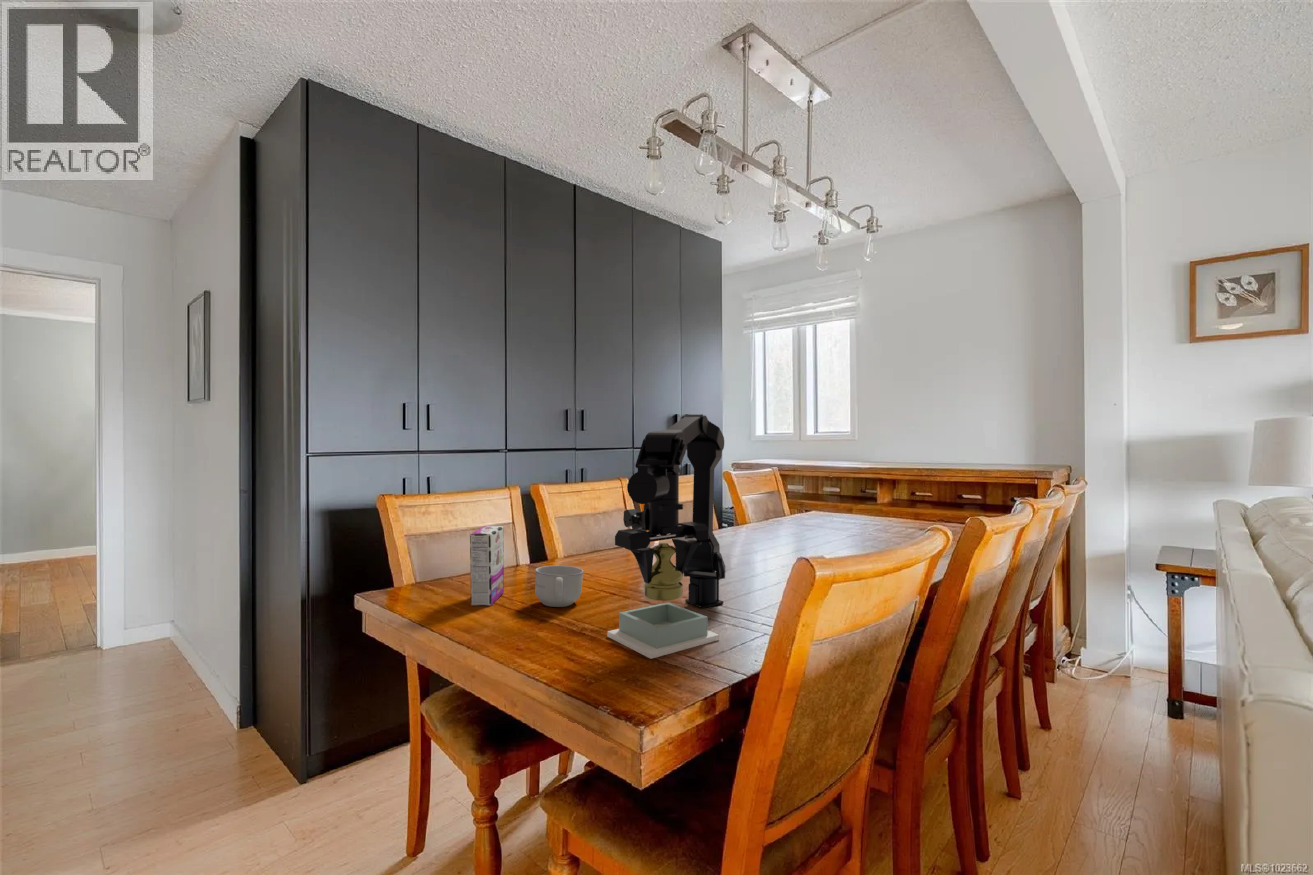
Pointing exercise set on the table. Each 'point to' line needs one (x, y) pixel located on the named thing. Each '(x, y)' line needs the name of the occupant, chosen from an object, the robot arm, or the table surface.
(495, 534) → the candy bar box
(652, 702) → the table surface
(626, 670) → the table surface
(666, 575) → the gold rounded piece
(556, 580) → the teacup
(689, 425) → the robot arm
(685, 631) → the grey green tray
